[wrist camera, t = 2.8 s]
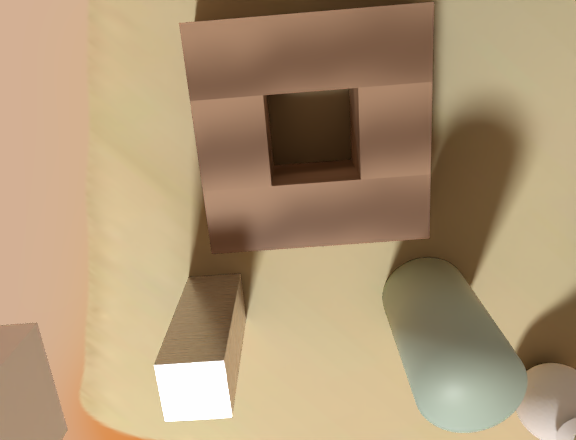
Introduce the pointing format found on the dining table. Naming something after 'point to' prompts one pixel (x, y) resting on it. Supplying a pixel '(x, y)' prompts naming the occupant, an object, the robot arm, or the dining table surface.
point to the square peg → (203, 350)
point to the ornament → (550, 402)
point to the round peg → (451, 348)
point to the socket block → (305, 78)
